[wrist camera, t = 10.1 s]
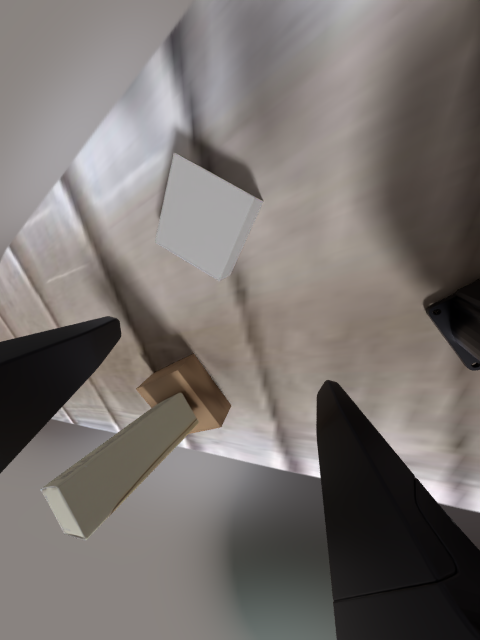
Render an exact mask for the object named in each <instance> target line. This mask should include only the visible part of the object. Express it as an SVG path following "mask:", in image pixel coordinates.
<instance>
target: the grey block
mask: <svg viewBox="0 0 480 640" xmlns="http://www.w3.org/2000/svg"><path fill="white" fill-rule="evenodd" d="M262 203H263V201H262V200H260V199H258V198H257V197H255V196H253V195H251V194H249V193H247V192H246V191H244V190H242V189H240V188H238V187H237V186H235V185H233V184H231V183H229V182H228V181H226V180H224V179H222V178H220V177H219V176H217V175H215V174H213V173H211V172H210V171H208V170H206V169H204V168H202V167H200V166H199V165H197V164H195V163H193V162H191V161H189V160H187V159H186V158H184V157H182V156H180V155H178V154H176V153H174V155H173V159H172V164H171V169H170V173H169V178H168V183H167V188H166V192H165V197H164V202H163V206H162V211H161V216H160V221H159V225H158V230H157V235H156V239H155V243H157V244H158V245H160V246H162V247H163V248H165V249H167V250H168V251H170V252H172V253H173V254H175V255H177V256H178V257H180V258H181V259H183V260H185V261H186V262H188V263H190V264H191V265H193V266H195V267H196V268H198V269H200V270H201V271H203V272H205V273H206V274H208V275H210V276H211V277H213V278H215V279H216V280H218V281H220V280H222V279H224V278H226V277H228V276H229V275H230V274H231V272H232V270H233V268H234V265H235V263H236V261H237V259H238V257H239V254H240V252H241V250H242V248H243V246H244V243H245V241H246V239H247V237H248V234H249V232H250V230H251V228H252V226H253V223H254V221H255V219H256V217H257V215H258V212H259V210H260V208H261V206H262Z"/></svg>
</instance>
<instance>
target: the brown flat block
mask: <svg viewBox="0 0 480 640" xmlns="http://www.w3.org/2000/svg"><path fill="white" fill-rule="evenodd" d="M136 390H137V391H138V392H139V393H140V394H141V396H142V397H143V398H144V399H145V401H146V402H147V403H148V404H149V405H150V407H151V408H153V407H154V406H155V405H157V404H158V403H160V402H162V401H164V400H166V399H168V398H170V397H172V396H174V395H176V394H178V393H182V394H183V396H184V398H185V399H186V401H187V403H188V404H189V406H190V408H191V409H192V411H193V413H194V414H195V416H196V418H197V419H198V421H199V423H198V424H197V425H196V426H195V427H194V429H193V430H192V431H191V432H190V433H195V432H200V431H205V430H210V429H215V428H220V427H221V426H222V424H223V422H224V420H225V418H226V416H227V414H228V412H229V409H230V407H231V405H230V403H229V402H228V400H227V399H226V398H225V396H224V395H223V394H222V392H221V391H220V389H219V388H218V387H217V385H216V384H215V383H214V381H213V380H212V378H211V377H210V376H209V374H208V373H207V371H206V370H205V369H204V367H203V366H202V365H201V363H200V362H199V360H198V359H197V358H196V356H195V355H194V354H192V355H190V356H188V357H186V358H184V359H182V360H179V361H177V362H175V363H173V364H171V365H169V366H167V367H165V368H163V369H161V370H159V371H157V372H154V373H153V374H152V375H151V376H150V377H149V378H148V379H146V380H145V381H144V382H143V383H142V384H141V385H140V386H139V387H138V388H136ZM190 433H189V434H190Z"/></svg>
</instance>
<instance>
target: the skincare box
mask: <svg viewBox="0 0 480 640" xmlns="http://www.w3.org/2000/svg"><path fill="white" fill-rule="evenodd" d="M198 423H199V421H198V419H197V418H196V416H195V414H194V413H193V411H192V409H191V408H190V406H189V404H188V403H187V401H186V399H185V398H184V396H183V394H182V393H178V394H176V395H174V396H172V397H170V398H168V399H166V400H164V401H162V402H160V403H158V404H157V405H155V406H154V407H153V408H151V409H150V410H149V411H147V412H146V413H144V414H143V415H142V416H140V417H139V418H138V419H136V420H135V421H133V422H132V423H131V424H129V425H128V426H127V427H125V428H124V429H122V430H121V431H120V432H118V433H117V434H116V435H114V436H113V437H111V438H110V439H109V440H107V441H106V442H105V443H103V444H102V445H100V446H99V447H98V448H97V449H95V450H94V451H92V452H91V453H89V454H88V455H87V456H85V457H84V458H82V459H81V460H80V461H78V462H77V463H76V464H74V465H73V466H71V467H70V468H69V469H67V470H66V471H65V472H63V473H62V474H61V475H59V476H58V477H56V478H55V479H54V480H52V481H51V482H50V483H48V484H47V485H46V486H44V487H43V488H41V491H42V493H43V494H44V496H45V498H46V500H47V502H48V504H49V505H50V507H51V509H52V511H53V513H54V515H55V517H56V519H57V521H58V523H59V524H60V526H61V529H62V531H63V533H64V534H66V535H69V536H72V537H75V538H79V539H82V540H87V539H88V538H89V537H90V536H91V535H92V534H93V533H94V532H95V530H97V529H98V527H99V526H100V525H101V524H102V523H103V522H104V521H105V520H106V519H107V518H108V517H109V516H110V515H111V514H112V513H113V512H114V511H115V510H116V509H117V508H118V507H119V506H120V505H121V504H122V503H123V501H124V500H125V499H126V498H127V497H128V496H129V495H130V494H131V493H132V492H133V491H134V490H135V489H136V488H137V487H138V486H139V485H140V484H141V483H142V482H143V481H144V480H145V479H146V478H147V477H148V475H149V474H150V473H151V472H152V471H153V470H154V469H155V468H156V467H157V466H158V465H159V464H160V463H161V462H162V461H163V460H164V459H165V458H166V457H167V456H168V455H169V453H171V452H172V451H173V450H174V448H175V447H176V446H177V445H178V444H179V443H180V442H181V441H182V440H183V439H184V438H185V437H186V436H187V435H188V434H189V433H190V432H191V431H192V430H193V429H194V427H195V426H196V425H197V424H198Z"/></svg>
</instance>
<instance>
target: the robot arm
mask: <svg viewBox="0 0 480 640" xmlns="http://www.w3.org/2000/svg"><path fill="white" fill-rule="evenodd" d="M435 309H439V310H438V312H436V313H432V312H433V311H434V310H435ZM426 313H427V315H428V316H429V317H430V319H431V320H432V321H433V323H434V324H435V326H436V327H437V328H438V330H439V331H440V332H441V334H442V335H443V336H444V338H445V339H446V340H447V342H448V343H449V345H450V346H451V347H452V349H453V350H454V351H455V353H456V354H457V355H458V357H459V358H460V359H461V361H462V362H463V364H464V365H465V366H466V367H467V368H468V369H470V370H480V280H477V281H475V282H473V283H471V284H469V285H467V286H465V287H463V288H461V289H459V290H458V291H457V292H456V293H455V294H453V295H451V296H449V297H447V298H445V299H443V300H441V301H439V302H436V303H434V304H432V305H430V306H429V307H428V308H427V309H426ZM120 337H121V328H120V321H119V320H118V319H117V318H114V317H110V316H107V317H103V318H98V319H94V320H90V321H86V322H82V323H77V324H73V325H69V326H65V327H61V328H57V329H52V330H48V331H44V332H40V333H36V334H32V335H27V336H23V337H19V338H15V339H11V340H6V341H2V342H0V473H1V472H2V471H3V470H4V469H5V468H6V467H7V466H8V464H9V463H10V462H11V461H12V460H13V459H14V458H15V457H16V456H17V455H18V454H19V453H20V452H21V451H22V449H23V448H24V447H25V446H26V445H27V444H28V443H29V442H30V441H31V440H32V439H33V438H34V437H35V435H36V434H37V433H38V432H39V431H40V430H41V429H42V428H43V427H44V426H45V425H46V424H47V422H48V421H49V420H50V419H51V418H52V417H53V416H54V415H55V414H56V413H57V412H58V411H59V409H60V408H61V407H62V406H63V405H64V404H65V403H66V402H67V401H68V400H69V399H70V398H71V397H72V395H73V394H74V393H75V392H76V391H77V390H78V389H79V388H80V387H81V386H82V385H83V384H84V382H85V381H86V380H87V379H88V378H89V377H90V376H91V375H92V374H93V373H94V372H95V370H96V369H97V368H98V367H99V366H100V365H101V363H102V362H103V361H104V359H105V358H106V357H107V355H108V354H109V353H110V351H111V350H112V349H113V347H114V346H115V345H116V343H117V342H118V341H119V339H120ZM476 362H477V363H476ZM473 363H476V364H474V365H472V364H473ZM316 431H317V445H318V455H319V465H320V475H321V485H322V494H323V505H324V514H325V525H326V535H327V543H328V554H329V565H330V574H331V583H332V584H331V585H332V594H333V600H334V602H333V606H334V616H335V626H336V636H337V640H480V550H479V549H478V548H477V547H476V546H475V545H474V544H473V543H472V542H471V541H470V539H469V538H468V537H467V536H466V535H465V534H464V533H463V532H462V531H461V529H460V528H459V527H458V526H457V525H456V524H455V523H454V522H453V520H452V519H451V518H450V517H449V516H448V515H447V514H446V512H445V511H444V510H443V509H442V508H441V506H440V505H439V504H438V503H437V502H436V501H435V499H434V498H433V497H432V496H431V495H430V493H429V492H428V491H427V490H426V489H425V487H424V486H423V485H422V484H421V483H420V481H419V480H418V479H417V478H415V476H414V474H413V473H412V472H411V471H410V469H409V468H408V467H407V466H406V465H405V463H404V462H403V461H402V460H401V459H400V457H399V456H398V455H397V454H396V453H395V451H394V450H393V449H392V448H391V446H390V445H389V444H388V443H387V442H386V440H385V439H384V438H383V437H382V436H381V434H380V433H379V432H378V431H377V430H376V428H375V427H374V426H373V425H372V424H371V422H370V421H369V420H368V419H367V418H366V416H365V415H364V414H363V413H362V411H361V410H360V409H359V408H358V407H357V405H356V404H355V403H354V402H353V401H352V399H351V398H350V397H349V396H348V395H347V393H346V392H345V391H344V390H343V389H342V387H341V386H340V385H339V384H338V383H337V382H334V381H331V380H326V381H325V382H324V384H323V385H322V387H321V389H320V390H319V392H318V394H317V424H316Z"/></svg>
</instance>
